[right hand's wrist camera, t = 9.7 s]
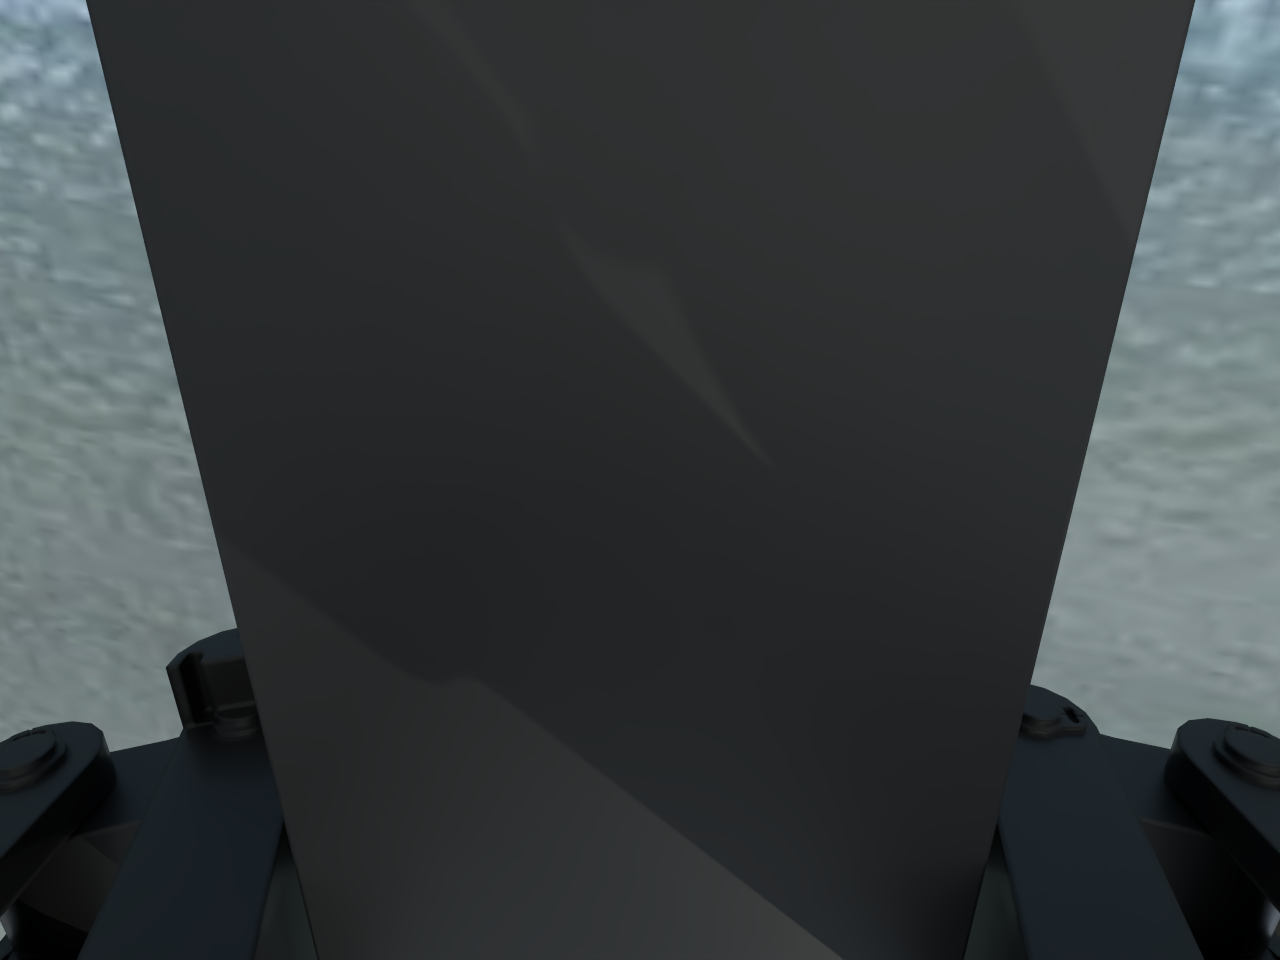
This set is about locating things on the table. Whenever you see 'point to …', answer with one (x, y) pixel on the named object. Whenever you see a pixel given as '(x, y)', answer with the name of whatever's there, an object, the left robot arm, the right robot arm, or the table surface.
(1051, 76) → the box
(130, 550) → the table surface
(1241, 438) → the table surface
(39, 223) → the table surface
